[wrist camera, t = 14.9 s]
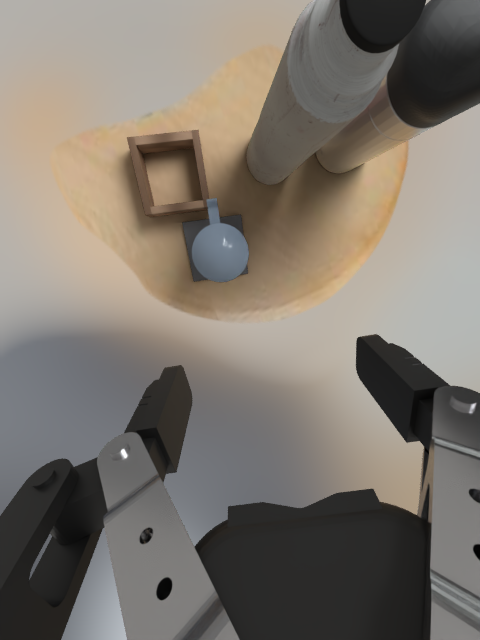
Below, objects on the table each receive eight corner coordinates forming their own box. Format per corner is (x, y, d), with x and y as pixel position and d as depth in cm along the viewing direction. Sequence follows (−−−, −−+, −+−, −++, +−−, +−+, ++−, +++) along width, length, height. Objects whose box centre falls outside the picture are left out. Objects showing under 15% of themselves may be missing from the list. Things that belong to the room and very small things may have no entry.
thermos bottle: (300, 137, 39) (488, -84, 13) (286, 190, 41) (421, 97, 15) (253, 121, 38) (352, -168, 11) (241, 177, 40) (301, 46, 13)
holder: (199, 139, 38) (198, 129, 34) (210, 209, 41) (210, 206, 37) (134, 146, 37) (126, 137, 34) (150, 217, 40) (145, 214, 37)
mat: (240, 215, 42) (241, 214, 41) (247, 273, 45) (248, 273, 44) (182, 222, 41) (182, 222, 40) (193, 281, 44) (193, 281, 43)
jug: (230, 209, 41) (241, 190, 25) (237, 265, 44) (251, 277, 28) (192, 214, 40) (180, 197, 25) (202, 270, 43) (197, 286, 28)
